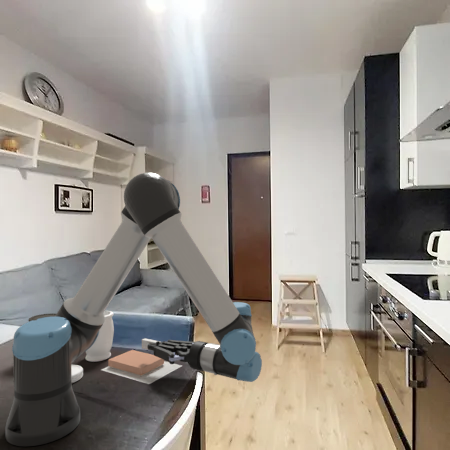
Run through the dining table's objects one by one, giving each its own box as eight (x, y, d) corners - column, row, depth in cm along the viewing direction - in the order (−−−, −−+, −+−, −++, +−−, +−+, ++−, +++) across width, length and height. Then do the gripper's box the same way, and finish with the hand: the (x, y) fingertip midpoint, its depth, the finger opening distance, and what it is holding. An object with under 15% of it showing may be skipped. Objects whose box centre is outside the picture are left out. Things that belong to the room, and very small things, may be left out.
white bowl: (75, 372, 113) (74, 361, 113) (89, 382, 106) (88, 370, 106) (40, 383, 106) (40, 370, 106) (53, 394, 99) (52, 381, 99)
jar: (93, 351, 131) (92, 309, 131) (119, 352, 129) (119, 310, 129) (75, 362, 121) (74, 317, 120) (103, 364, 118) (103, 318, 118)
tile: (163, 357, 115) (132, 349, 122) (141, 368, 106) (108, 359, 113) (164, 365, 115) (132, 356, 122) (141, 376, 106) (108, 367, 113)
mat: (182, 368, 114) (182, 365, 114) (149, 387, 101) (149, 384, 101) (136, 357, 124) (136, 354, 124) (100, 373, 112) (100, 369, 112)
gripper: (192, 379, 95) (127, 362, 107) (219, 362, 106) (157, 349, 118) (192, 350, 95) (127, 337, 107) (219, 336, 106) (157, 325, 118)
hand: (143, 343), depth 112 cm, fingers closed
